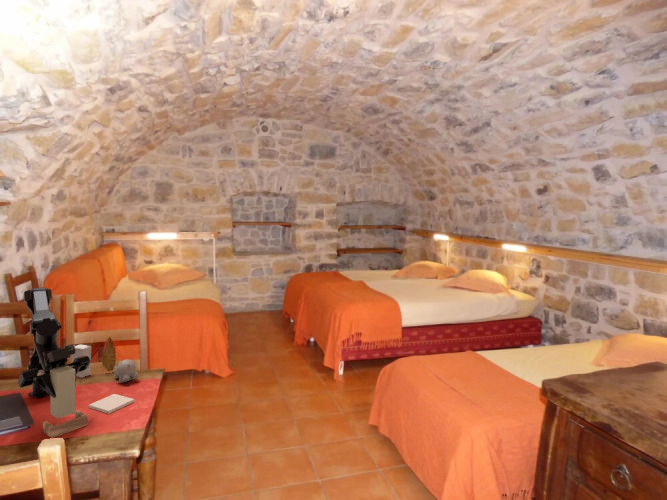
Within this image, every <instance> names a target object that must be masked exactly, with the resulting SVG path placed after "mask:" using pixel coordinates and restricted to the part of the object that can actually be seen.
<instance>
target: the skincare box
mask: <svg viewBox="0 0 667 500" xmlns="http://www.w3.org/2000/svg"><path fill="white" fill-rule="evenodd" d="M74 347H75V351H76V353H75V354H73V355H71V363H73V361H74V359H75V358H78V357H82V356H88V357H89V358H90V360H91V362H90V364H89V365H88V367H87V369H86V370H84V371H81V372H78V373H77V374H76V378H79V379H80V378H85V376H86V377H88V376H90V375H92V346H91V345H87V344H77V345H74Z"/></svg>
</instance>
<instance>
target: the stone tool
mask: <svg viewBox="0 0 667 500" xmlns="http://www.w3.org/2000/svg"><path fill="white" fill-rule="evenodd" d="M116 353H117V352H116V347H115V344H114V342H113V339H112V337H110V336H108V338H107V339H106V341H105V345H104V346H103V350H102V354H101V359H102V360H101V364H102V367H103V368H104V369H106V371H107V372H110V371H114V369H115V368H114V366H116V362H117V357H116V356H117V355H116Z"/></svg>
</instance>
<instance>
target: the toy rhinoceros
mask: <svg viewBox="0 0 667 500" xmlns="http://www.w3.org/2000/svg"><path fill="white" fill-rule="evenodd" d="M113 369H114V370H113V371H114V377H115V378H116V379H118V382H119V384H123V383H126V382H129V381H133V380H134V379H137V378H139V373H138V371H137V365H136V363H135V361H133V360H132V359H123V360H121V361H119V362H118V364H117V365H115V366H114V368H113Z"/></svg>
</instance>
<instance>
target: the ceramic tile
mask: <svg viewBox="0 0 667 500" xmlns="http://www.w3.org/2000/svg"><path fill="white" fill-rule="evenodd" d="M132 403H135V398H132V397H129V396H128V397H127V396H123V395H122V394H121V395H120V394H117V393H113V394H110V395H108V396H106V397H104V398H101V399H99V400H97V401H95V402H92V403H90V404H88V408H89V409H92V410H95V411H99V412H102V413H105V414H108V415H110V414H112V413H115V412H116V411H118V410H121V409H122V408H125V407H127V406H128V405H130V404H132Z"/></svg>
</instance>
